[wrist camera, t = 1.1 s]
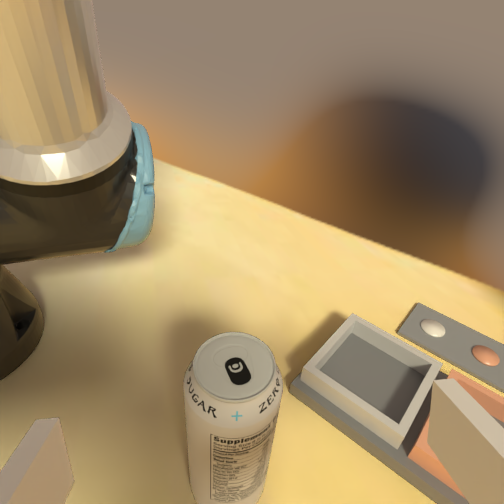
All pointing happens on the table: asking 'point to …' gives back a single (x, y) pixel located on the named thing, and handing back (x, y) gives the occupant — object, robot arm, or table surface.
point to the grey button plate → (456, 344)
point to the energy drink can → (231, 417)
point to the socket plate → (385, 401)
